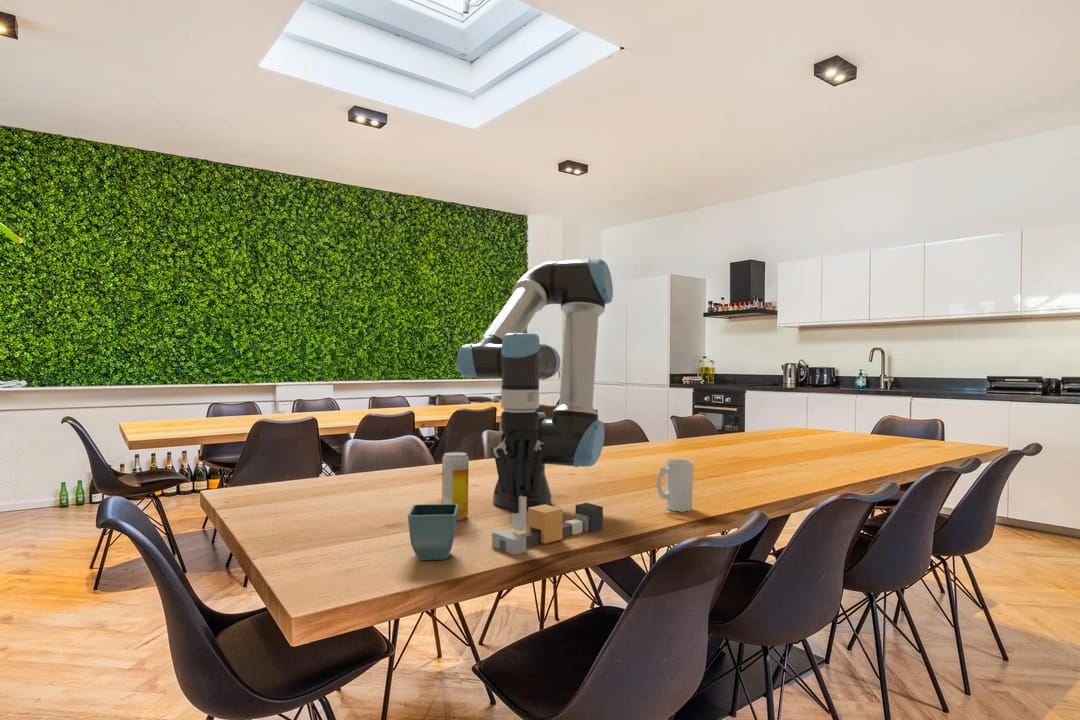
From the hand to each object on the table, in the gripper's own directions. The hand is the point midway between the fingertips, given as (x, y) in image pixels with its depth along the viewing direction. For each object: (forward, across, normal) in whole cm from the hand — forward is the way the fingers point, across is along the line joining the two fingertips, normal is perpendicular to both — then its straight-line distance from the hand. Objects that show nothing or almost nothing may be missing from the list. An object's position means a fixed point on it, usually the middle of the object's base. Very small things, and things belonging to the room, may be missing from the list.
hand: (518, 528), depth 122 cm
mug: (+4, +49, -2) cm, 49 cm away
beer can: (+4, +3, +27) cm, 27 cm away
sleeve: (+4, +7, 0) cm, 8 cm away
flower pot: (+4, -16, +6) cm, 18 cm away
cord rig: (+4, +9, 0) cm, 10 cm away
